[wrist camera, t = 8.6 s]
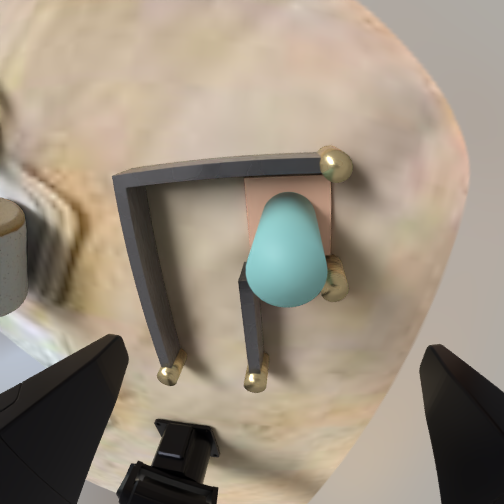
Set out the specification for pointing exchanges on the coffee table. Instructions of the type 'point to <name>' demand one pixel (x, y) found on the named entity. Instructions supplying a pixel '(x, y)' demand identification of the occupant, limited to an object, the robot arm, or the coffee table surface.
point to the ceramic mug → (12, 257)
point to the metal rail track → (151, 280)
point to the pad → (306, 185)
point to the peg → (287, 253)
